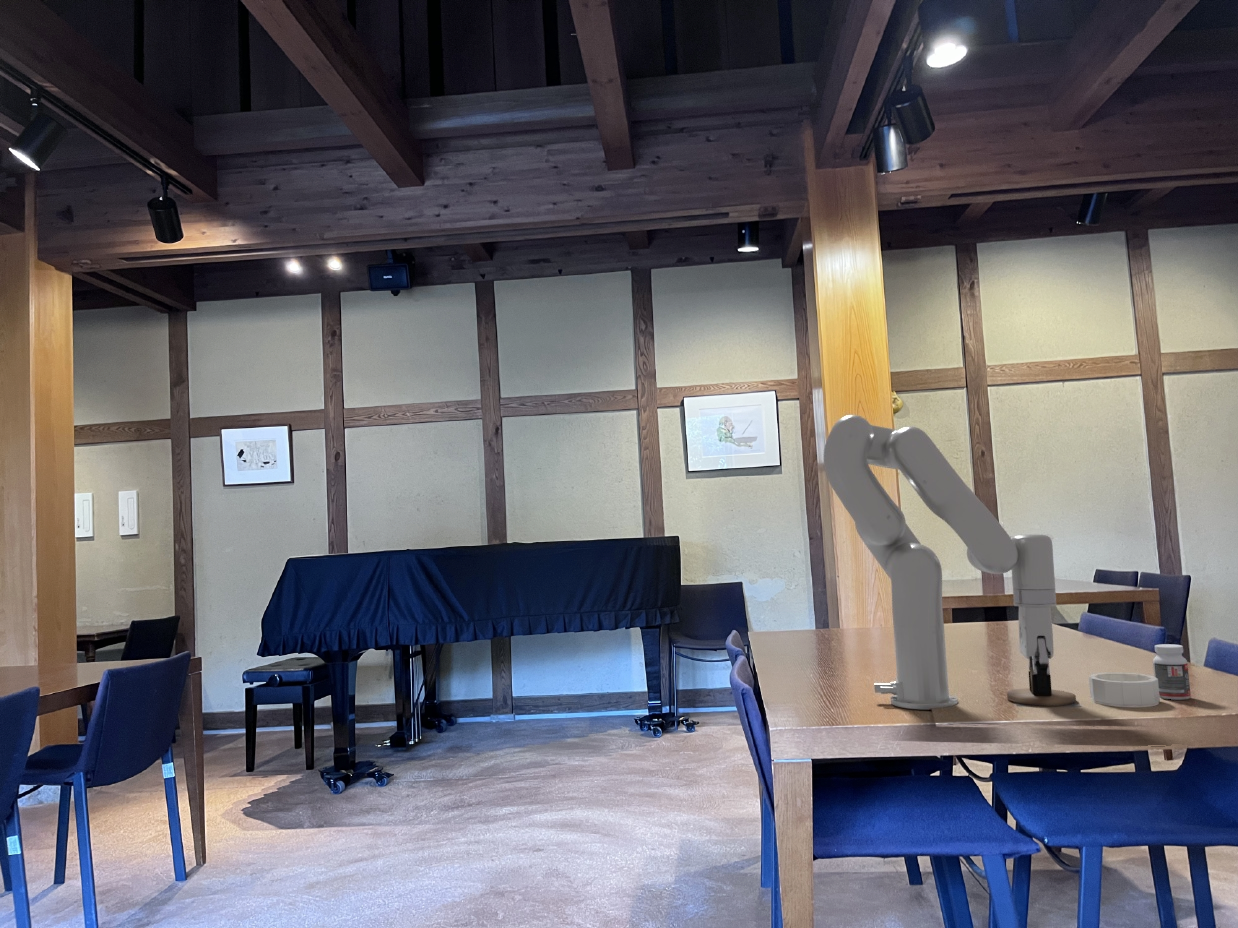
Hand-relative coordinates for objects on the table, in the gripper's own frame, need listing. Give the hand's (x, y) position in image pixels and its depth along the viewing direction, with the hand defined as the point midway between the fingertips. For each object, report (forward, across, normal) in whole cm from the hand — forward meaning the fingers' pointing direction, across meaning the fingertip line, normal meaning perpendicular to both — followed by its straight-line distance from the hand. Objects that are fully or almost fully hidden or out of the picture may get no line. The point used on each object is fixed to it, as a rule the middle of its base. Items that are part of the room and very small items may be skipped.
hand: (1040, 692), depth 170 cm
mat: (+2, 0, 0) cm, 2 cm away
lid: (+1, 0, 0) cm, 1 cm away
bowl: (+2, 0, +14) cm, 15 cm away
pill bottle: (+2, -7, +24) cm, 26 cm away
